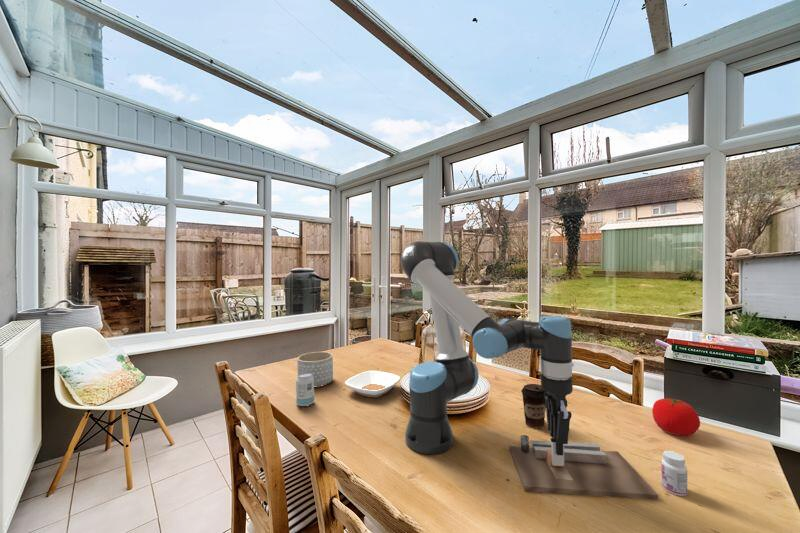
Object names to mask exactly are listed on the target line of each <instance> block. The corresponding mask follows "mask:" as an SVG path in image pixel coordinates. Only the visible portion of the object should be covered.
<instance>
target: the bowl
mask: <svg viewBox="0 0 800 533" xmlns="http://www.w3.org/2000/svg"><path fill="white" fill-rule="evenodd" d="M401 378H402V377H401V376H399V375H397V374H395V373H390V372H386V371H381V370H367V371H363V372H360V373H358V374H356V375H354V376H351V377H349V378H348V379H347V380H345V382H344V384H345V385H346V386H347V387H348V388H350V389H351V390H352V391H354V392H355V393H358V394H357V395H359V394H360V396H362V395H363V396H362V397H365V396H367V398H371V397H377V398H379V396H380V397H382V396H383V394H384V395H386V394H387V393H388V392H389V391H391V389H392V388H394V386H395V385H396V384H397V383H398V382H399V381H400V380H401ZM369 384H377V385H382V386H385V388H383V389H379V390H368V389H362V387H364V386H367V385H369ZM385 393H386V394H385ZM381 395H382V396H381Z"/></svg>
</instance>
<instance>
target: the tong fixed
mask: <svg viewBox="0 0 800 533" xmlns="http://www.w3.org/2000/svg"><path fill="white" fill-rule="evenodd" d="M529 441H530V442H529ZM530 443H531V444H530ZM534 446H538V447H551V440H550V441H548V440H530V438H529V436H528V435H526V434H521V435H520V447H521V451H522V452H524V453H529V447H531V449H532V451H533V452H534ZM564 448H565V449H578V450H591V451H601V446H599V444H598V443H592V442H591V443H590V442H574V441H573V442H571V441H568V444H564Z"/></svg>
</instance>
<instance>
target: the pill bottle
mask: <svg viewBox="0 0 800 533" xmlns="http://www.w3.org/2000/svg"><path fill="white" fill-rule="evenodd" d="M660 463H661V464H660V465H661V486H662V488H663V489H664V490H666V492H668V493H670V494H673V495H675V496H678V497H679V496H680V497H684V496H687V495H688V491H689V490H688V467H687V466H686V458H685V457H684V455H682V454H680V453H678V452H676V451H673V450H664V451H663V453H662V459H661V462H660Z"/></svg>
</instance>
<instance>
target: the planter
mask: <svg viewBox="0 0 800 533" xmlns="http://www.w3.org/2000/svg"><path fill="white" fill-rule="evenodd" d="M296 360H297V361H296V362H297V366H296V367H297V376H298V375H299V374H301V373H311V374H312V376H313V378H314V386H321V385H325V384H327V383H328V384H329V383H331V382H332V381H333V380H334V361H333V360H334V359H333V353H331V352H328V351H313V352H307V353H304V354H303V353H302V354H301V355H299V356H297V359H296ZM328 384H327V385H328ZM325 386H326V385H325Z"/></svg>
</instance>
